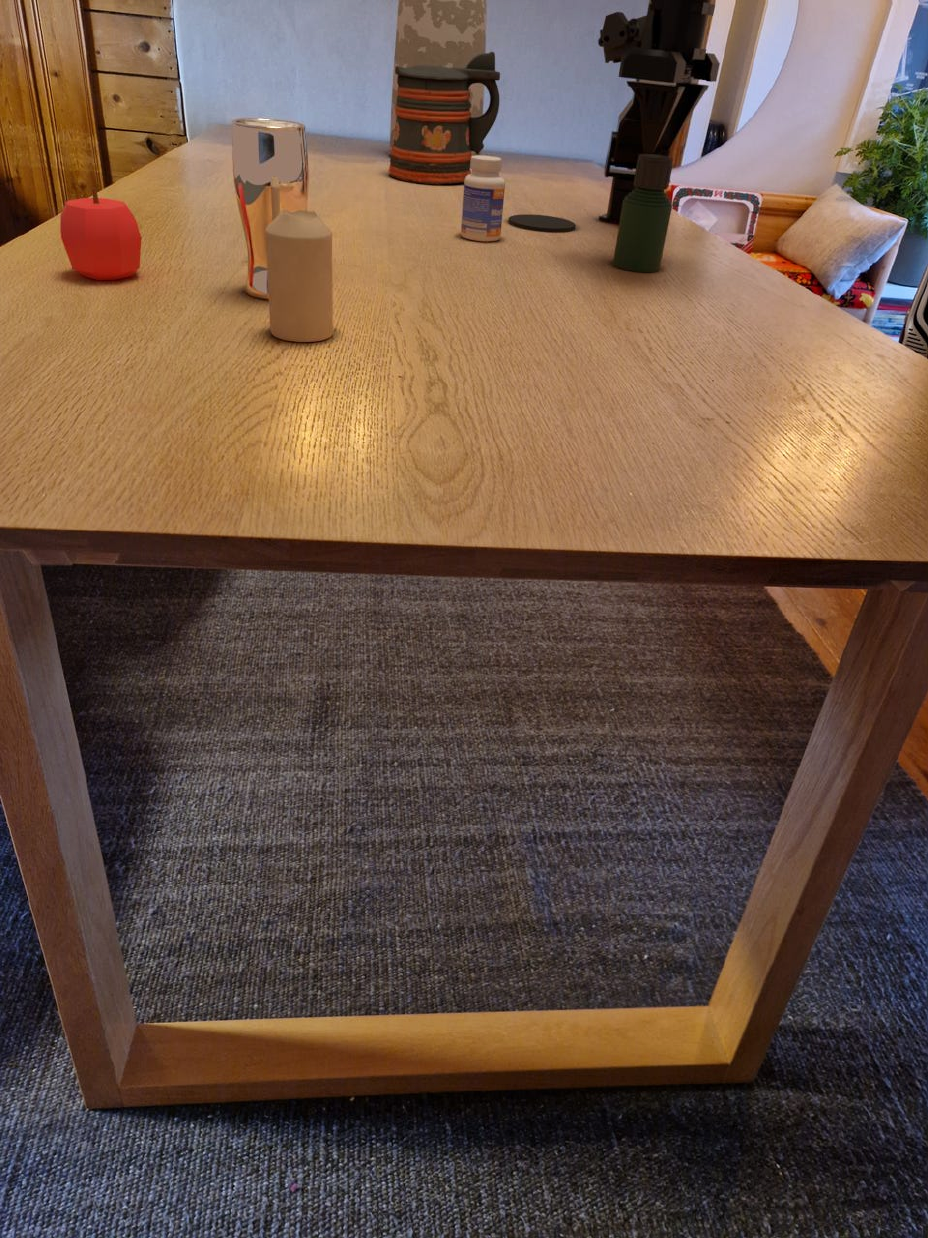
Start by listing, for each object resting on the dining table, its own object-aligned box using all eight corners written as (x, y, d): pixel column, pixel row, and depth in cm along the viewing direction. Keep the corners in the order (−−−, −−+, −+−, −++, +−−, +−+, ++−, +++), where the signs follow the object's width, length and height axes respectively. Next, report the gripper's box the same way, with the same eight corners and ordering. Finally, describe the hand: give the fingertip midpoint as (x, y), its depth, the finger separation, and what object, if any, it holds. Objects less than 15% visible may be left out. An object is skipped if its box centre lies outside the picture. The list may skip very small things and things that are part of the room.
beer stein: (478, 174, 165) (488, 49, 154) (503, 187, 154) (515, 54, 143) (381, 169, 160) (384, 40, 149) (399, 183, 149) (404, 44, 137)
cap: (639, 182, 107) (645, 152, 105) (671, 187, 106) (677, 157, 104) (629, 185, 104) (634, 155, 102) (661, 191, 103) (667, 160, 101)
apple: (125, 261, 92) (114, 179, 88) (163, 279, 88) (152, 193, 83) (50, 269, 88) (34, 182, 83) (86, 288, 83) (71, 197, 79)
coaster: (525, 214, 134) (526, 211, 134) (585, 225, 130) (585, 222, 130) (496, 223, 126) (497, 219, 126) (559, 235, 123) (559, 231, 123)
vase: (479, 169, 170) (499, -78, 149) (385, 161, 170) (391, -89, 148) (479, 156, 187) (497, -68, 165) (393, 148, 186) (400, -78, 165)
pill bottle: (496, 244, 115) (504, 161, 109) (456, 238, 115) (462, 157, 110) (503, 236, 119) (510, 157, 113) (464, 231, 120) (470, 152, 114)
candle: (305, 347, 74) (301, 221, 68) (257, 332, 76) (249, 209, 71) (345, 333, 78) (345, 213, 72) (298, 320, 80) (295, 202, 75)
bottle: (621, 258, 113) (639, 155, 107) (665, 266, 111) (686, 162, 104) (605, 265, 109) (623, 159, 102) (651, 274, 107) (671, 166, 100)
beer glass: (252, 303, 83) (241, 125, 75) (233, 284, 88) (220, 116, 80) (321, 299, 86) (318, 128, 78) (298, 281, 91) (293, 118, 83)
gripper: (643, -10, 104) (619, 138, 113) (585, -22, 90) (564, 147, 99) (734, -3, 100) (702, 149, 109) (689, -15, 86) (657, 161, 95)
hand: (656, 151), depth 103 cm, fingers open, 6 cm apart
